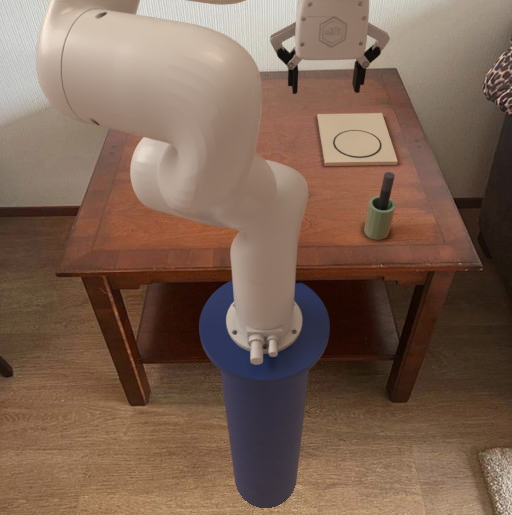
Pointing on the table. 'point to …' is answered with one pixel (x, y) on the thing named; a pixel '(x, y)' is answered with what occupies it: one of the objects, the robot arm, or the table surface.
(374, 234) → the pen cup
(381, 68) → the table surface
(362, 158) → the drawing board
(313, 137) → the table surface
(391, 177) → the marker
